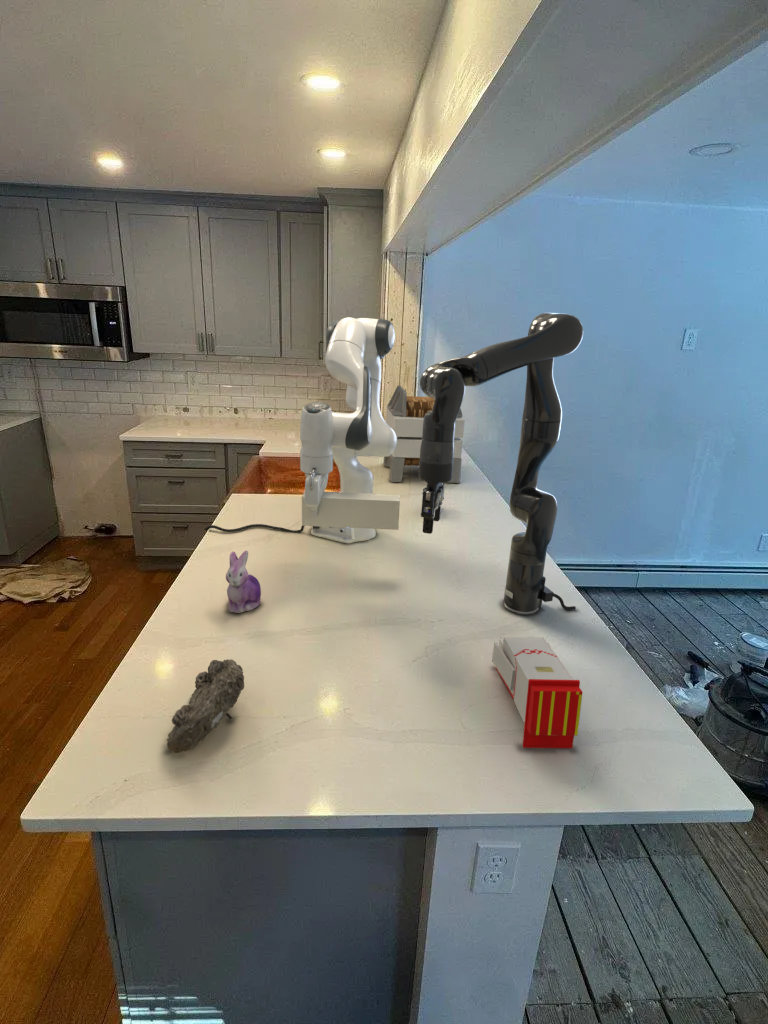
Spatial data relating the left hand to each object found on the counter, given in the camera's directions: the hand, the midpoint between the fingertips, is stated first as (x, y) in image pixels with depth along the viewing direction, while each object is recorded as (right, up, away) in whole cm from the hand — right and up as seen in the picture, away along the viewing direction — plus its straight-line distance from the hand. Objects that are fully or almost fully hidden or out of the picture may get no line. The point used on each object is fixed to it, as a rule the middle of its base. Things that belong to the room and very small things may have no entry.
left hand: (316, 511), depth 159 cm
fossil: (-14, -39, -51) cm, 66 cm away
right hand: (+30, -3, -27) cm, 41 cm away
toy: (+48, -39, -42) cm, 75 cm away
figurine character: (+37, 0, +64) cm, 74 cm away
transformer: (+36, +19, +116) cm, 123 cm away
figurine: (-18, -25, -11) cm, 32 cm away
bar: (+10, -4, +1) cm, 10 cm away
